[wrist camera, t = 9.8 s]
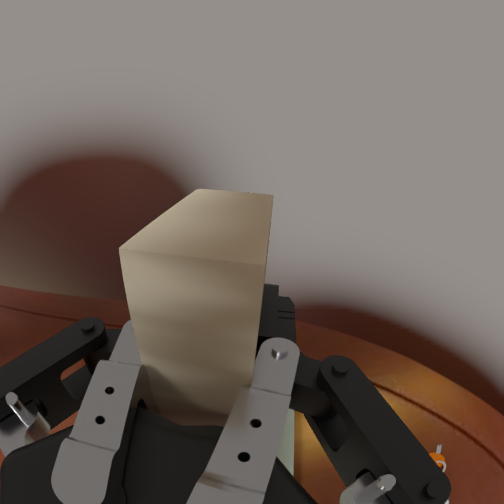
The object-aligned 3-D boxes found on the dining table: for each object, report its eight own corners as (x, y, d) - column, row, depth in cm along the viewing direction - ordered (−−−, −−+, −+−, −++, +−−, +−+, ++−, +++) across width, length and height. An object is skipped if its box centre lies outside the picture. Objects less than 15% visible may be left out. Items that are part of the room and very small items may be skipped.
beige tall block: (179, 468, 10) (118, 248, 5) (203, 386, 16) (197, 189, 11) (238, 478, 10) (265, 265, 5) (251, 393, 15) (273, 195, 10)
